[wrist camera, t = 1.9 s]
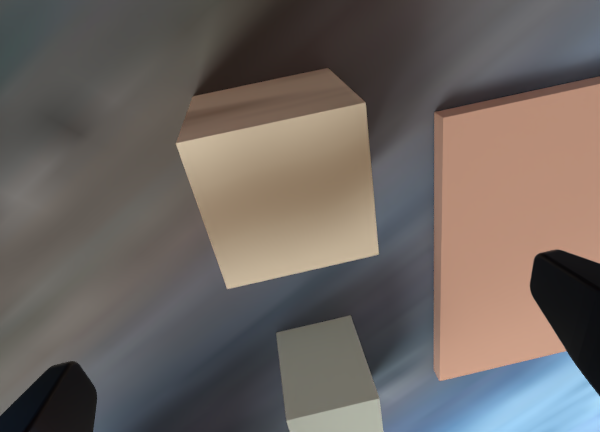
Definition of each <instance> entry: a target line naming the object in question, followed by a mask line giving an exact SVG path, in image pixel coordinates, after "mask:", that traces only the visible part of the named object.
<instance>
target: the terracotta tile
mask: <svg viewBox="0 0 600 432" xmlns="http://www.w3.org/2000/svg"><path fill="white" fill-rule="evenodd" d="M555 249H559V250H563V251H566V252H569V253H571V254H574V255H577V256H580V257H583V258H586V259H588V260H591V261H594V262H597V263H600V76H599V77H594V78H589V79H585V80H580V81H576V82H571V83H566V84H562V85H557V86H552V87H548V88H543V89H539V90H534V91H529V92H525V93H520V94H515V95H511V96H506V97H502V98H497V99H492V100H488V101H483V102H479V103H474V104H469V105H465V106H460V107H455V108H451V109H446V110H442V111H437V112H434V371H435V373H436V375H437V377H438V379H439V381H442V380H447V379H451V378H455V377H459V376H463V375H468V374H472V373H476V372H480V371H484V370H488V369H493V368H497V367H501V366H505V365H509V364H514V363H518V362H522V361H526V360H530V359H535V358H539V357H543V356H547V355H551V354H556V353H560V352H564V351H566V349H565V347H564V346H563V344H562V343H561V341H560V340H559V338H558V336H557V335H556V333H555V332H554V330H553V328H552V327H551V325H550V324H549V322H548V320H547V319H546V317H545V316H544V314H543V313H542V311H541V309H540V308H539V306H538V305H537V303H536V301H535V300H534V298H533V296H532V294H531V291H530V279H531V273H532V267H533V261H534V258H535V256H536V255H537V254H539V253H542V252H546V251H550V250H555Z"/></svg>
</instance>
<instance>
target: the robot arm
mask: <svg viewBox="0 0 600 432" xmlns="http://www.w3.org/2000/svg"><path fill="white" fill-rule="evenodd" d="M530 291H531V294H532V296H533V298H534V300H535V301H536V303H537V305H538V306H539V308H540V309H541V311H542V313H543V314H544V316H545V317H546V319H547V320H548V322H549V324H550V325H551V327H552V328H553V330H554V332H555V333H556V335H557V336H558V338H559V340H560V341H561V343H562V344H563V346H564V347H565V349H566V351H567V352H568V354H569V355H570V357H571V358H572V360H573V361H574V363H575V364H576V366H577V367H578V368H579V370H580V371H581V372H582V374H583V375H584V376H585V378H586V379H587V380H588V382H589V383H590V384H591V385H592V387H593V388H594V389H595V391H596V392H597V393H598V394H599V396H600V263H597V262H594V261H591V260H588V259H586V258H583V257H580V256H577V255H574V254H571V253H569V252H566V251H563V250H559V249H555V250H550V251H546V252H542V253H539V254H537V255H536V256H535V258H534V261H533V267H532V273H531V279H530ZM96 404H97V393H96V389H95V387H94V385H93V384H92V382H91V381H90V379H89V378H88V376H87V375H86V373H85V372H84V371H83V369H82V368H81V366H80V365H79V364H78V363H77V362H74V361H70V362H66V363H61V364H57V365H54V366H51V367H50V368H49V369H48V370H46V371H45V372H44V373H43V374H42V375H41V376H40V377H39V378H38V379H37V380H36V381H35V382H34V383H33V384H32V385H31V386H30V387H29V388H28V389H27V390H26V391H25V392H24V393H23V394H22V395H21V396H20V397H19V398H18V399H17V400H16V401H15V402H14V403H13V404H12V405H11V406H10V407H9V408H8V409H7V410H6V411H5V412H4V413H3V414H2V415H1V416H0V432H93V428H94V420H95V412H96Z"/></svg>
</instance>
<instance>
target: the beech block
mask: <svg viewBox="0 0 600 432" xmlns="http://www.w3.org/2000/svg"><path fill="white" fill-rule="evenodd" d="M176 145H177V148H178V151H179V154H180V157H181V159H182V162H183V165H184V168H185V171H186V174H187V176H188V179H189V182H190V185H191V188H192V191H193V193H194V196H195V199H196V202H197V205H198V208H199V210H200V213H201V216H202V219H203V222H204V225H205V227H206V230H207V233H208V236H209V239H210V242H211V244H212V247H213V250H214V253H215V256H216V259H217V261H218V264H219V267H220V270H221V273H222V276H223V278H224V281H225V284H226V287H227V289H230V288H235V287H239V286H244V285H248V284H252V283H257V282H261V281H265V280H270V279H274V278H279V277H283V276H287V275H292V274H296V273H301V272H305V271H309V270H314V269H318V268H322V267H327V266H331V265H336V264H340V263H344V262H349V261H353V260H358V259H362V258H366V257H371V256H375V255H379V250H378V239H377V227H376V216H375V204H374V193H373V181H372V170H371V158H370V147H369V135H368V124H367V112H366V102H365V101H363V100H362V99H361V98H360V97H359V96H358V95H357V94H356V93H355V92H354V91H353V90H351V89H350V88H349V87H348V86H347V85H346V84H345V83H344V82H343V81H342V80H341V79H339V78H338V77H337V76H336V75H335V74H334V73H333V72H332V71H331V70H330V69H329V68H325V69H320V70H315V71H311V72H306V73H301V74H297V75H292V76H287V77H282V78H278V79H273V80H268V81H263V82H259V83H254V84H249V85H244V86H240V87H235V88H230V89H225V90H221V91H216V92H211V93H207V94H202V95H197V96H193V97H192V100H191V103H190V105H189V108H188V111H187V114H186V117H185V119H184V122H183V125H182V128H181V130H180V133H179V136H178V139H177V141H176Z"/></svg>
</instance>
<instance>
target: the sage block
mask: <svg viewBox="0 0 600 432" xmlns="http://www.w3.org/2000/svg"><path fill="white" fill-rule="evenodd" d="M276 337H277V346H278V354H279V363H280V371H281V380H282V388H283V397H284V405H285V414H286V421H287V424H288V427H289V431H290V432H383V426H382V417H381V408H380V399H379V396H378V393H377V390H376V387H375V384H374V381H373V378H372V376H371V373H370V370H369V367H368V364H367V361H366V358H365V355H364V353H363V350H362V347H361V344H360V341H359V338H358V335H357V332H356V329H355V327H354V324H353V321H352V318H351V315H350V316H346V317H341V318H337V319H333V320H328V321H324V322H320V323H315V324H311V325H307V326H303V327H298V328H294V329H290V330H285V331H281V332H277V333H276Z"/></svg>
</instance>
